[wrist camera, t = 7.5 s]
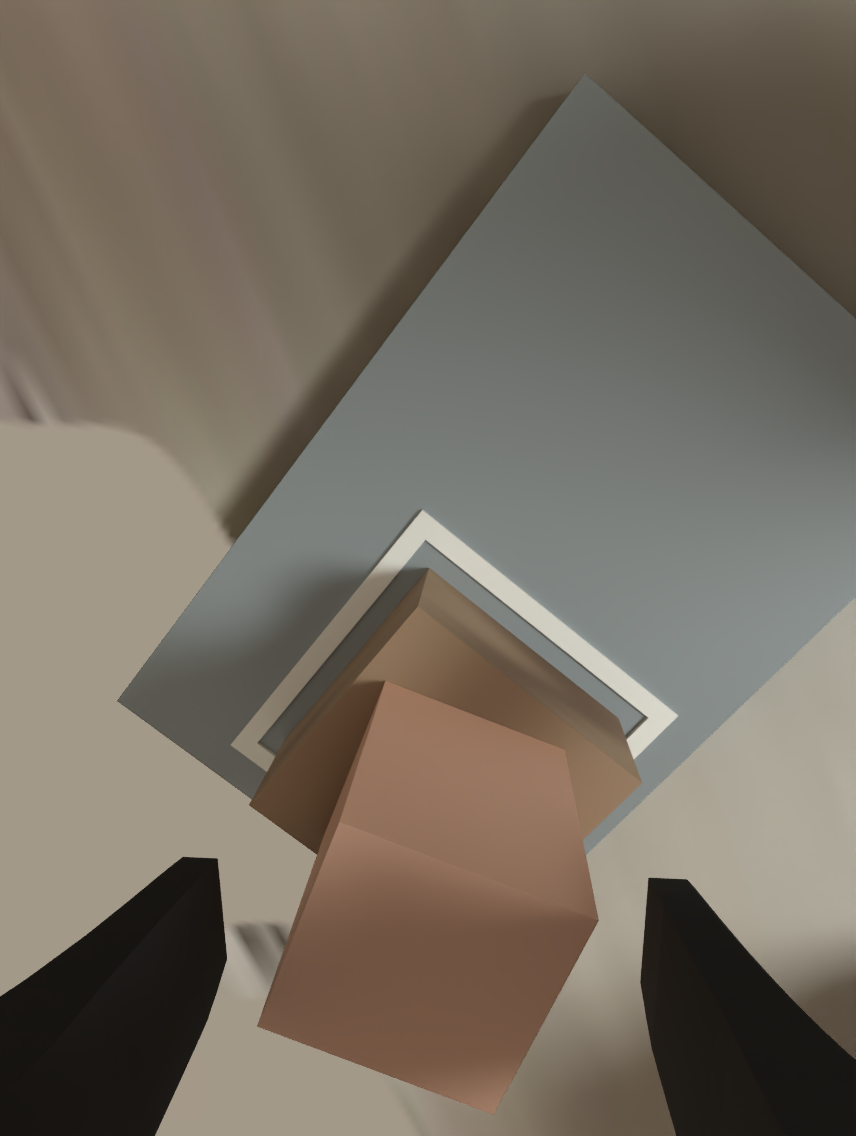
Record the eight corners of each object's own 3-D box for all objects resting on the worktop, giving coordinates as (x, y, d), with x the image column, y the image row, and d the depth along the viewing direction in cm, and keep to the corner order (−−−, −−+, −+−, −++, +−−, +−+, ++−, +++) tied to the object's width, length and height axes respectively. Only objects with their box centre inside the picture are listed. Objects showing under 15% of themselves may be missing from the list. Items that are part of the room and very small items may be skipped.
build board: (976, 448, 17) (1008, 454, 16) (475, 935, 22) (474, 964, 21) (579, 90, 16) (585, 71, 15) (134, 685, 21) (115, 702, 20)
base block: (618, 718, 19) (642, 782, 16) (464, 873, 20) (459, 958, 17) (429, 567, 18) (417, 606, 15) (284, 739, 20) (249, 804, 17)
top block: (565, 750, 16) (598, 920, 11) (491, 899, 17) (493, 1114, 12) (385, 680, 16) (339, 821, 11) (323, 835, 17) (256, 1026, 12)
